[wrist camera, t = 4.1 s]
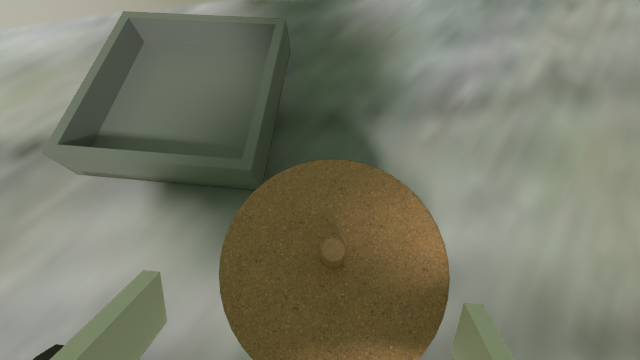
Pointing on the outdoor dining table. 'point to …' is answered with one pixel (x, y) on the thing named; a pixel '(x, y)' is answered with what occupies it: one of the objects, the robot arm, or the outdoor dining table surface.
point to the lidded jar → (334, 267)
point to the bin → (178, 101)
